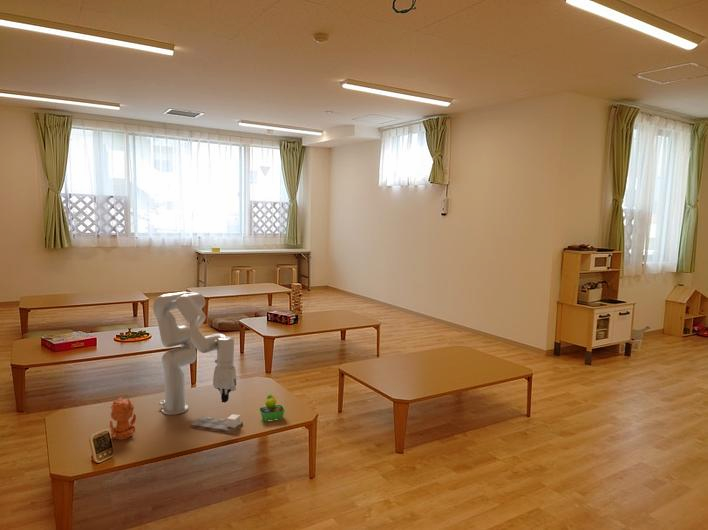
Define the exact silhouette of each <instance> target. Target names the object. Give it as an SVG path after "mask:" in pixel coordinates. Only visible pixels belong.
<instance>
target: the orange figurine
mask: <svg viewBox="0 0 708 530" xmlns="http://www.w3.org/2000/svg"><path fill="white" fill-rule="evenodd" d="M112 402H113V403H111V406H110V408H111V411H110V417H111V418H110V419H112V420H113V421H116V426H114V425H113V421H112V420H110V421H109V428H110V436H111V437H110V438H112V439H116V440H121V441H122V440H126V439H128V438H130V437H132V436H133V435H132V434H134V433H135V432H136V426H135V425H134V424H135V423H136V419H137V416H136V415H137V414H136V413H134V409H135V407H134V404H133V403H132V402H131V400H130V399H129V398H127V399H126V398H123V397H121V396H118V399H116V400H113V401H112ZM131 417H132V419H131ZM130 419H131V421H130V422H129V420H130Z"/></svg>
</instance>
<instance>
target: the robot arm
mask: <svg viewBox="0 0 708 530" xmlns="http://www.w3.org/2000/svg"><path fill="white" fill-rule="evenodd" d="M152 304H153V305H152V309H153V314H154V317H155V318H156V321H157V324H158V330H159V335H160V340H161V343H162V345H163V346H164V347H165V348H173V347H176V348H173V349H169V350H167V351H165V352H164V353H163V355H162V356H161V365H162V368H163V374H164V375H163V377H164V381H163V382H164V399H160V400H159V403H158V406H162V408H161V413H163V414H164V415H169V416H172V415H173V416H175V415H179V414H182V413H185V412H187V411H188V410H189V405H188V404H186V394H185V392H186V391H185V389H186V388H185V373H184V372H183V370H182V369H181V367H184V366H187V365H190V364H193V363H194V362H195V361H196V360H197V351H198V352H199V353H202V354H206V353H210V352H213V351H216V359H215V360H214V363H216V365H215V367H214V371H213V376H212V377H213V378H212V385H213V387H214V389H217V390H218V391H219V393H220V395H221V397H220V400H221V403H227V402H228V401H229V398H230V397H229V395H230V393H231V392H235V391H236V390H237V387H236V386H237V372H236V366H235V365H234V364H235V360H234V358H235V340H234V337H232V336H227V335H225V334H223V333H220V332H217V333H212V334H208V335H205V336H203V334H202V333H201V331H200V330H199V327H200V326H202V324H203V323H204V322H205V321H206V318H207V316H206V314H205V312H204V311H203V310H202V309H203V308H204V307H205V305H206V299H205V297H204V295H203V294H202V293H200V292H191V291H179V292H178V291H177V292H171V293H165V294H161V295H159V296H157V297H155V299H154V300H153V303H152ZM176 310H178V311H179V312H180V313H181V315H182V316H183V318H184V319H185V321H186V322H187V324H189V326H188V325H184V324H183V325H177V320H176V317H175V315H174V314H173V313H172V312H171V311H176ZM177 346H180V347H177Z"/></svg>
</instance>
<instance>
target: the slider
mask: <svg viewBox="0 0 708 530" xmlns="http://www.w3.org/2000/svg"><path fill="white" fill-rule="evenodd" d="M226 419H227V427H233V428H235V427H236V426H238V425H239V424H240V422H241V415H240V414H233V413H232V414H231V415H229V416H228V417H227V418H226Z"/></svg>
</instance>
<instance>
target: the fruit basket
mask: <svg viewBox="0 0 708 530" xmlns="http://www.w3.org/2000/svg"><path fill="white" fill-rule="evenodd" d="M258 409H259V412H260V414H261V418H263V419H262V421H263V420H264V421H268V420H275V419H281V418H282V419H283V417H284V414H285V411H286V410H285V408H284V406H283V405H282V404H277V400H276V397H275V396H274V395H272V394H268V395H267V397H266V400H265V406H263V407H259V408H258ZM264 421H263V422H264ZM268 422H269V421H268Z"/></svg>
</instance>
